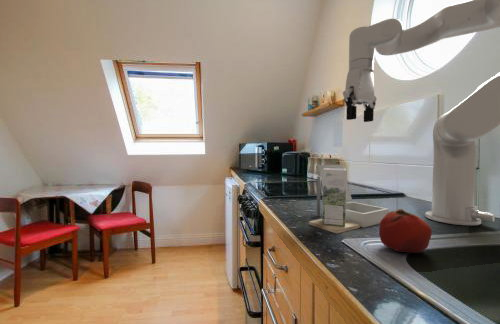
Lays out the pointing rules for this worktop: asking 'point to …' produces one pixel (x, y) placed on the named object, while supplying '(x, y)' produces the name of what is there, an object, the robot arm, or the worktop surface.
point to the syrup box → (334, 196)
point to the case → (358, 211)
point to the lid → (321, 167)
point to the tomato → (404, 232)
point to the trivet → (334, 228)
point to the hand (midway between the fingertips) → (360, 120)
